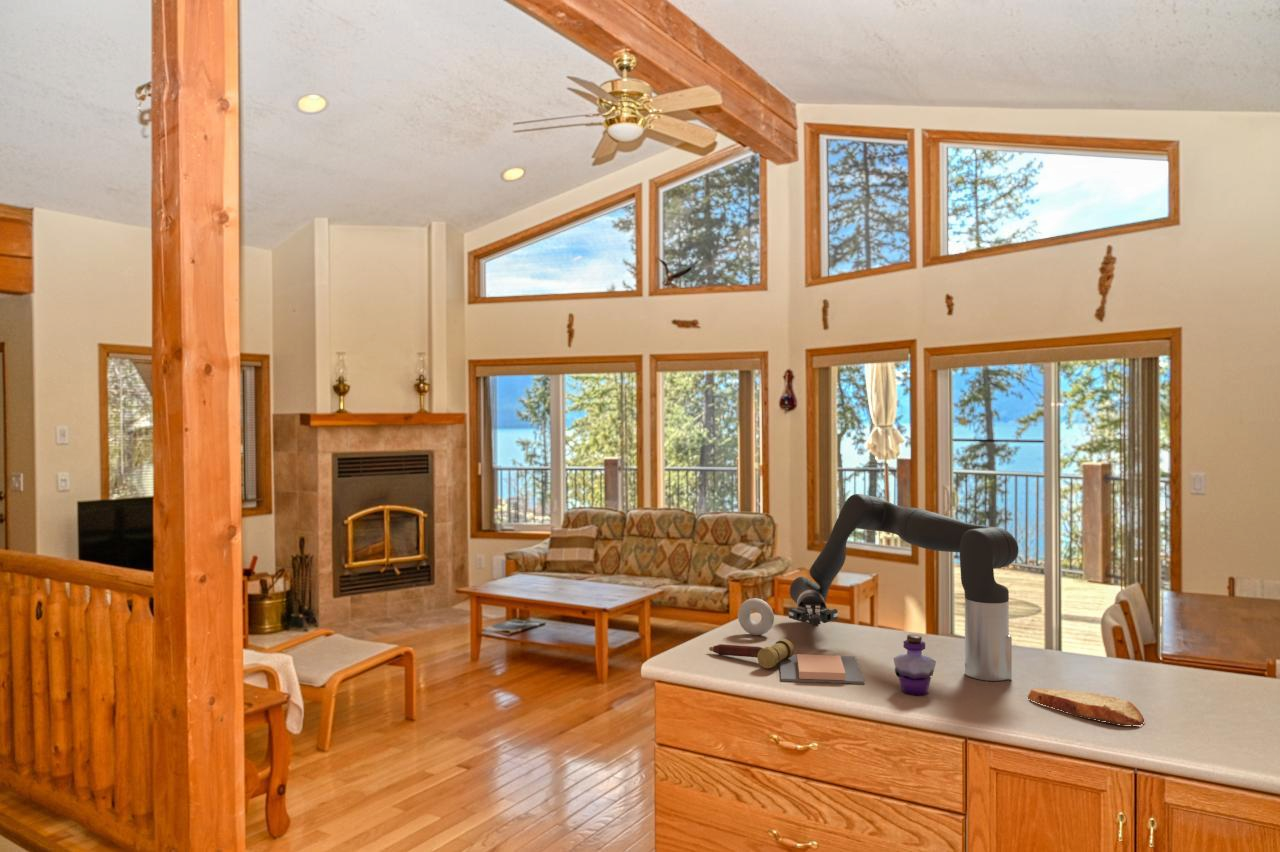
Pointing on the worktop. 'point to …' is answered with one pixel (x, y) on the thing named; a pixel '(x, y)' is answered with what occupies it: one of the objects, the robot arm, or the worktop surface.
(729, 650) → the gavel
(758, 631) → the donut
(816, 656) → the tile
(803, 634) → the worktop surface
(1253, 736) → the worktop surface
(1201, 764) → the worktop surface
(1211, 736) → the worktop surface
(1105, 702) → the slice of bread
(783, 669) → the mat
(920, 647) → the potion bottle
